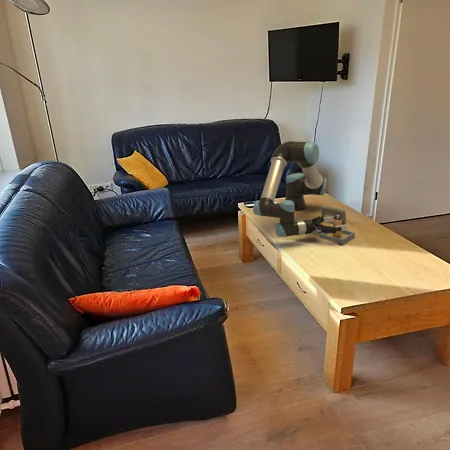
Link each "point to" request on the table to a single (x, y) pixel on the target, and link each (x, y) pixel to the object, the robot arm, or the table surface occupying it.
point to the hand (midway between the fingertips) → (340, 223)
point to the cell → (337, 222)
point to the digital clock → (333, 213)
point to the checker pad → (315, 233)
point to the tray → (339, 241)
